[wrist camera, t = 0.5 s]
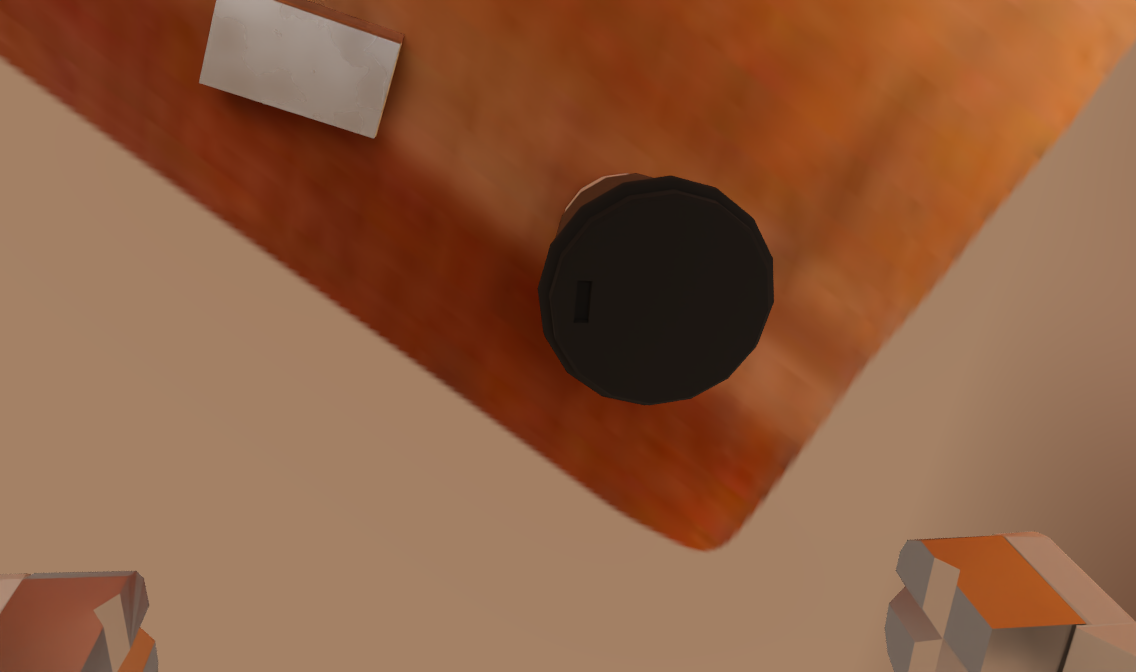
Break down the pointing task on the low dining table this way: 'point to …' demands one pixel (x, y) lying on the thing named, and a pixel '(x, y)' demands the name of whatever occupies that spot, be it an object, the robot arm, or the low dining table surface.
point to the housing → (303, 60)
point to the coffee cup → (654, 288)
